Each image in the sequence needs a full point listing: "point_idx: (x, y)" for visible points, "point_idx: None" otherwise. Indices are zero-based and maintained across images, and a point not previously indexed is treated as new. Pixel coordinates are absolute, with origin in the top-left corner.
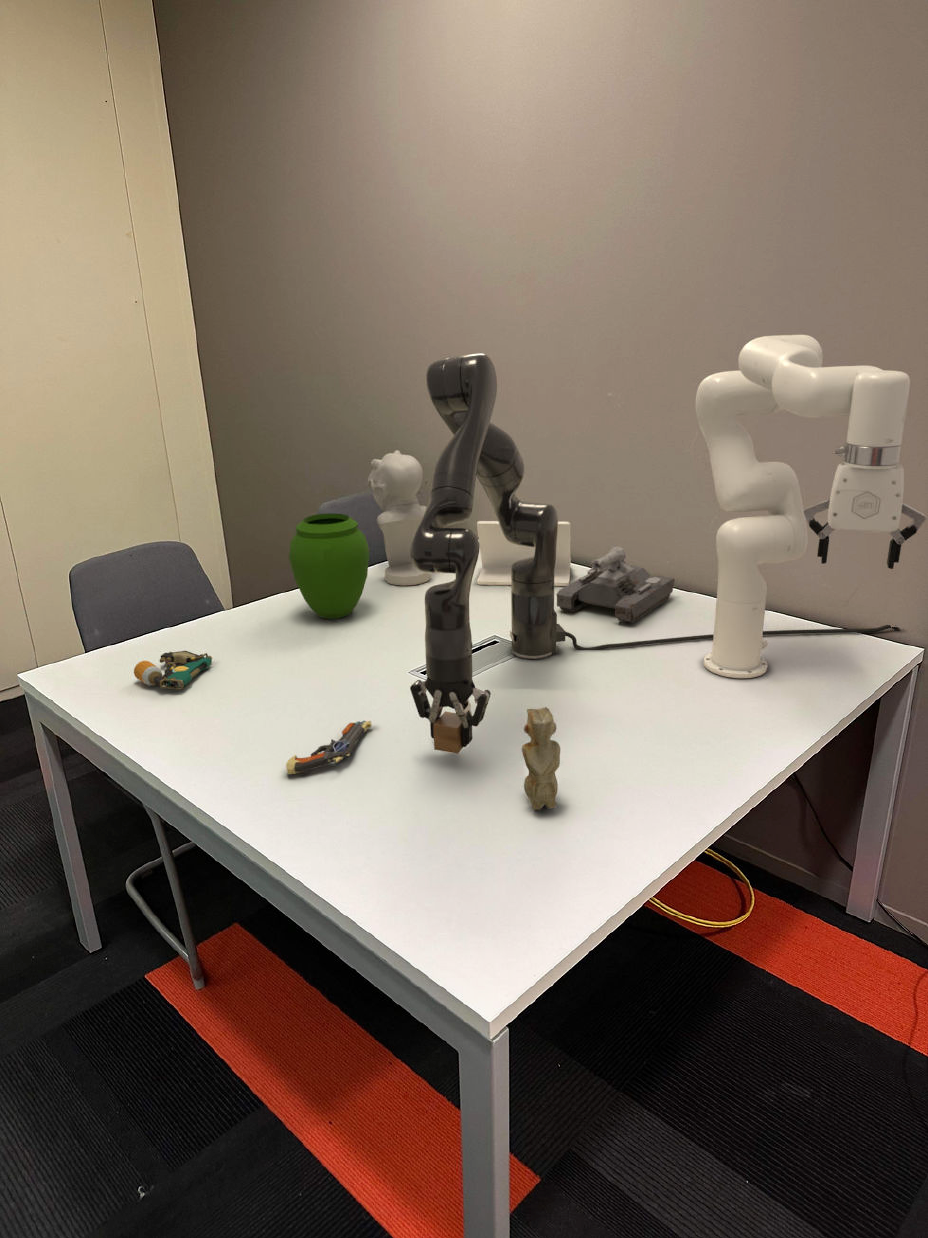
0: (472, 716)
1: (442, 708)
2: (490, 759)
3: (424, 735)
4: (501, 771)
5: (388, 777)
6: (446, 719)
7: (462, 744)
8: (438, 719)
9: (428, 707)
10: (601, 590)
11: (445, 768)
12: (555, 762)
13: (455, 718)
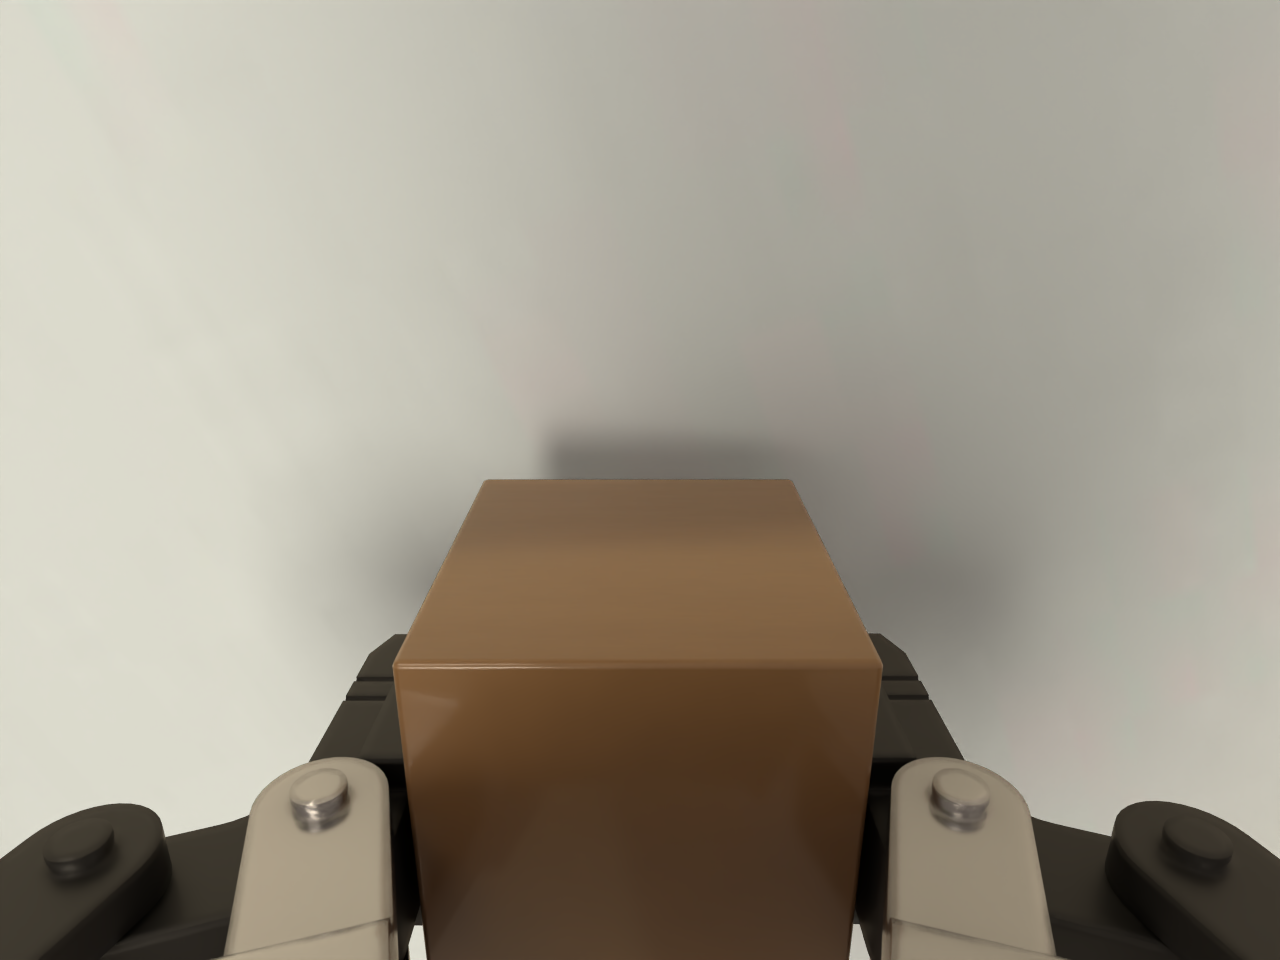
0: (1073, 945)
1: (393, 920)
2: (983, 430)
3: (122, 175)
4: (1123, 588)
5: None
6: (561, 903)
7: None
8: (435, 934)
9: (102, 958)
10: None
11: None
12: None
13: (693, 833)
